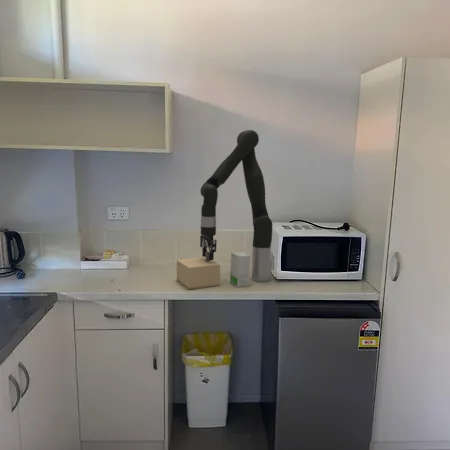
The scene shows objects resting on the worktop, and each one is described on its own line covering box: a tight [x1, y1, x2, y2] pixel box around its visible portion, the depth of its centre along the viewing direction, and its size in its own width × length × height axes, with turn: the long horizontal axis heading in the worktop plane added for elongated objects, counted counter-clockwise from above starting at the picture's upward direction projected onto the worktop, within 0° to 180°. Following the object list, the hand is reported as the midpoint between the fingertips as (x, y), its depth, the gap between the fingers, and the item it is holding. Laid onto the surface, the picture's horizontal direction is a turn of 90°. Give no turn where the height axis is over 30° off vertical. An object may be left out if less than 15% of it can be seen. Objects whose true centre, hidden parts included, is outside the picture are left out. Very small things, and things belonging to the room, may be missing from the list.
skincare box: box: [229, 250, 251, 288], centre depth 200 cm, size 8×7×16 cm
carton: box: [176, 261, 221, 291], centre depth 201 cm, size 16×16×10 cm
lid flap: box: [176, 251, 221, 269], centre depth 199 cm, size 16×16×5 cm
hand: (207, 258), depth 202 cm, fingers open, 7 cm apart
